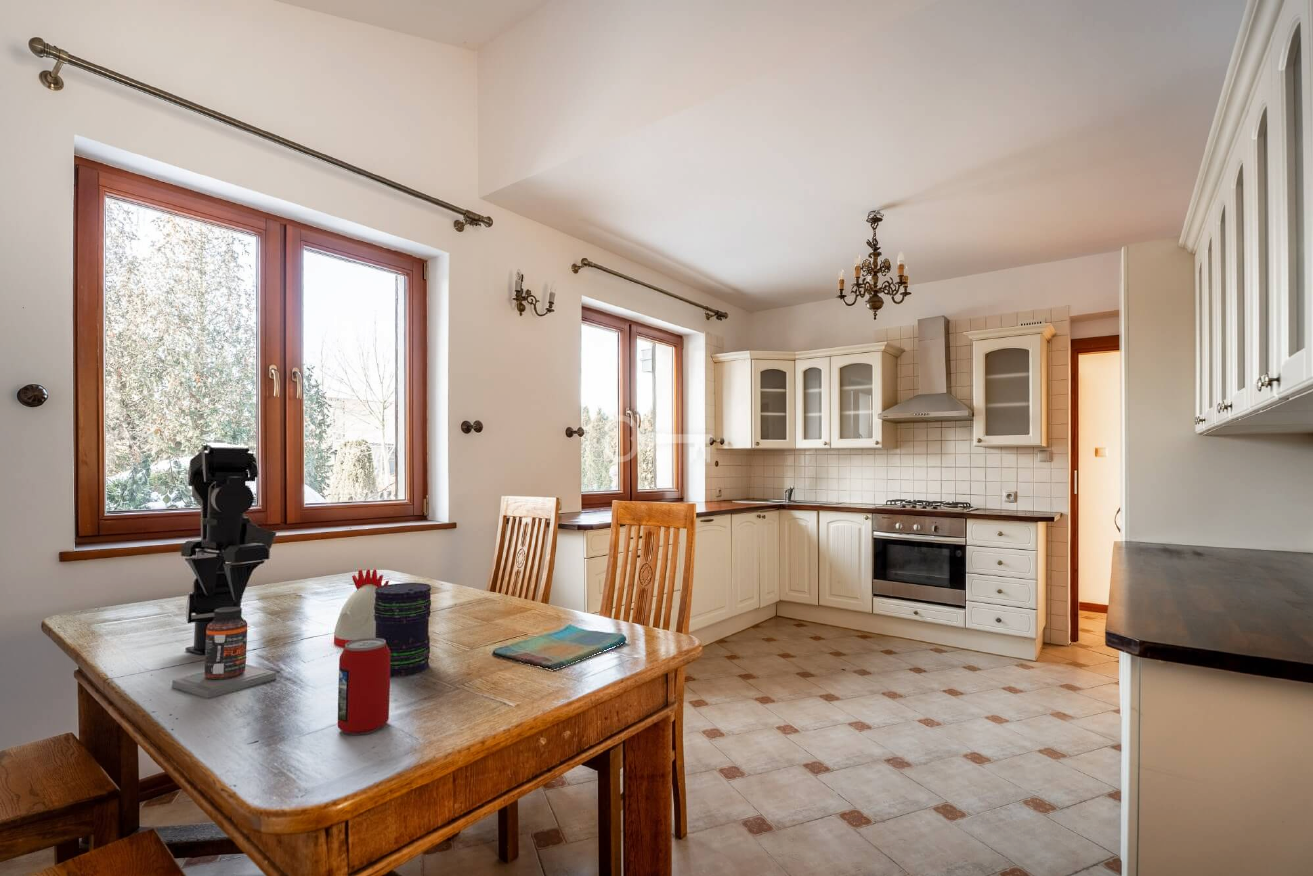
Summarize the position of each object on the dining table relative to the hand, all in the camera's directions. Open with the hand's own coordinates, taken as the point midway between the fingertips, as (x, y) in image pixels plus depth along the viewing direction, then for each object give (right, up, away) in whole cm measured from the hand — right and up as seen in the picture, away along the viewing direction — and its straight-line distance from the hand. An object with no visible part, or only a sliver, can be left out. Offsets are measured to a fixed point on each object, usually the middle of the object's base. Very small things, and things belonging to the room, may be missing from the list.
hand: (223, 597), depth 119 cm
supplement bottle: (+6, -12, -8) cm, 15 cm away
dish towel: (+61, -15, +13) cm, 64 cm away
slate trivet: (+6, -13, -8) cm, 16 cm away
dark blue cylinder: (+33, -13, 0) cm, 36 cm away
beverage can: (+38, -12, -27) cm, 48 cm away
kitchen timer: (+18, -14, +20) cm, 31 cm away
